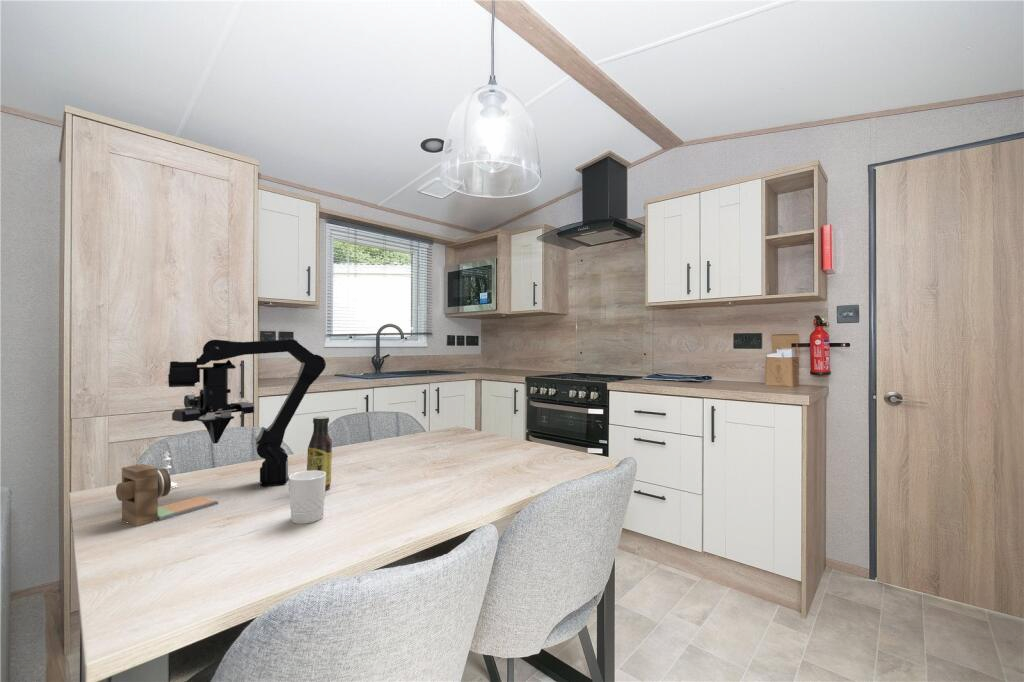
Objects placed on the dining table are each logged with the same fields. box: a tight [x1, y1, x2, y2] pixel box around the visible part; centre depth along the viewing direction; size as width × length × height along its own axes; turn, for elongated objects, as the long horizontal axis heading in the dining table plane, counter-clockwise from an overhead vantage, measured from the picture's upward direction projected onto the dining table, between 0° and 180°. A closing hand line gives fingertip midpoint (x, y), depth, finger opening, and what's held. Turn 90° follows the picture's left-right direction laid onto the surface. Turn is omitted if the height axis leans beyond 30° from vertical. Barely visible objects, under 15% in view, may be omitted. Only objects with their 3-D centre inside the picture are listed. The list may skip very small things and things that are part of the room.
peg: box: [115, 468, 172, 502], centre depth 107 cm, size 8×6×6 cm
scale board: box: [158, 495, 219, 521], centre depth 114 cm, size 13×8×1 cm, turn 151°
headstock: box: [121, 463, 159, 527], centre depth 106 cm, size 4×7×12 cm, turn 61°
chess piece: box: [161, 451, 178, 490], centre depth 130 cm, size 5×5×10 cm
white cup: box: [288, 470, 326, 525], centre depth 108 cm, size 8×8×10 cm
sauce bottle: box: [306, 415, 333, 491], centre depth 129 cm, size 6×6×20 cm
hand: (215, 443), depth 127 cm, fingers closed
